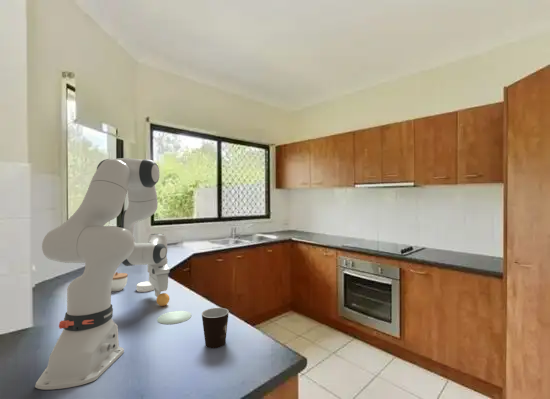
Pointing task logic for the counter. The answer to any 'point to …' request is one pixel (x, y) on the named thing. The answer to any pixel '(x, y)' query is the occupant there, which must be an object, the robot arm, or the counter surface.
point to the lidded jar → (119, 281)
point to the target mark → (174, 317)
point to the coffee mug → (215, 326)
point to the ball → (162, 299)
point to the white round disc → (144, 287)
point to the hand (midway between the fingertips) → (157, 296)
